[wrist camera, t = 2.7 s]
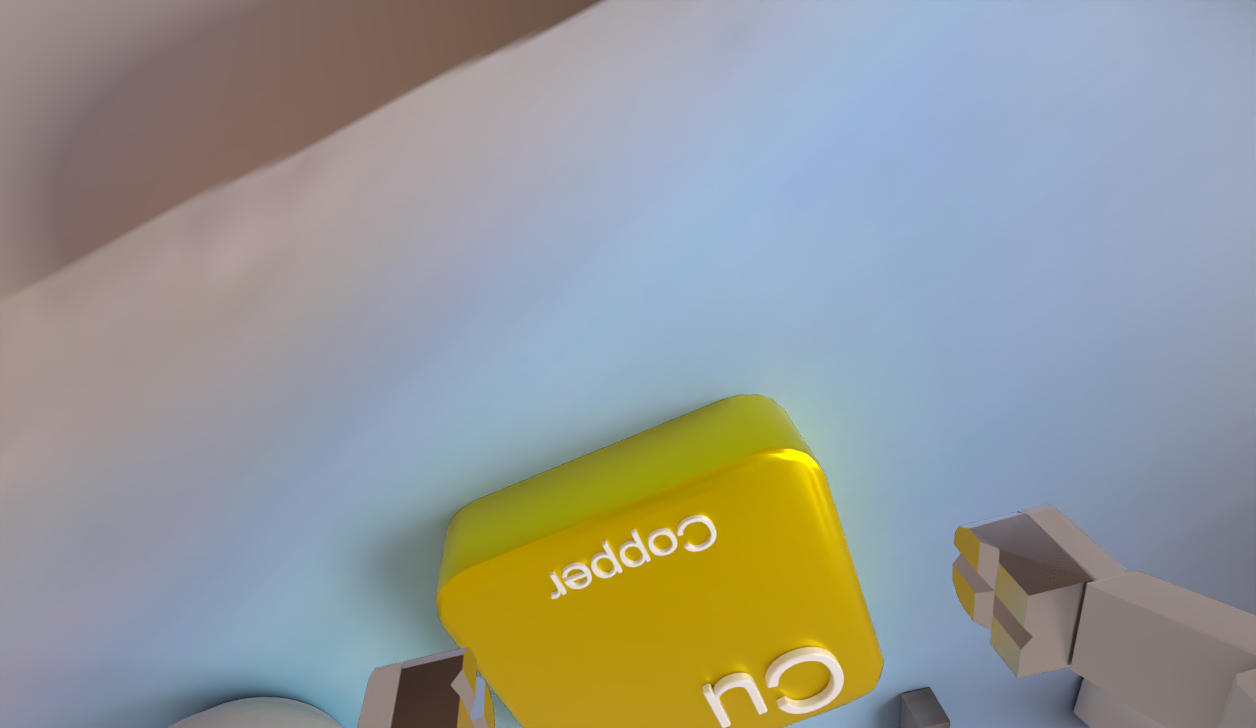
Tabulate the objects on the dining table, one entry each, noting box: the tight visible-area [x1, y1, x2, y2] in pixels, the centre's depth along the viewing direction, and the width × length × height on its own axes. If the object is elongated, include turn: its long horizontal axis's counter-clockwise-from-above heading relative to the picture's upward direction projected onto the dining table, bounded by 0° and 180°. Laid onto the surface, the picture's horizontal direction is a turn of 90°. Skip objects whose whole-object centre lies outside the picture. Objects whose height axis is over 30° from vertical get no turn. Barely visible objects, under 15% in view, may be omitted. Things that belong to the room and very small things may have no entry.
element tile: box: [435, 394, 883, 728], centre depth 28 cm, size 15×15×5 cm
